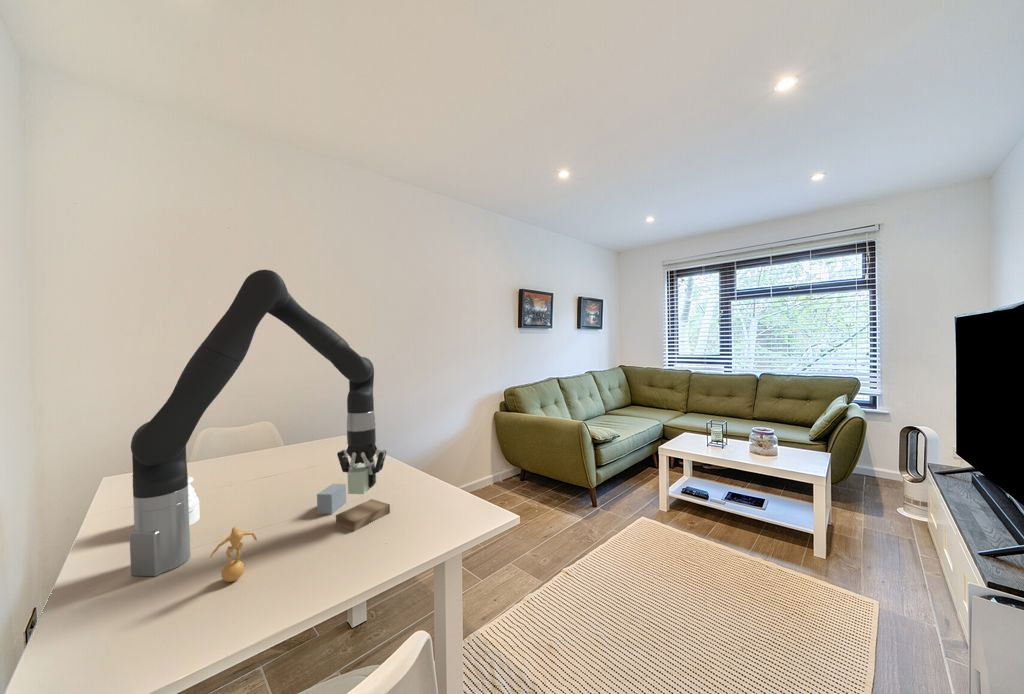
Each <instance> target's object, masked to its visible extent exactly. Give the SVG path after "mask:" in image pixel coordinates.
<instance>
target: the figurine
mask: <svg viewBox="0 0 1024 694" xmlns="http://www.w3.org/2000/svg"><path fill="white" fill-rule="evenodd" d="M243 536H252V537H253V541H256V542H257V541H258V537H257V536H256V534H255V533H254V531H242V530H240V529H239V528H238V527H237V526H234V527H232V528H231V533H230V535H229V536H227V537H226V538H225V539H224V540H222V541H221V542H220V543H219V544H218V545H217V546H216V548H214V550H213V551H212V552H211V555H210V556H209V559H210V560H211V559H212V556H213V555H214V554H215V553H216V552H218V550H219V548H220V547H221V546H223V545H225V544H226V543H228V542H230V544H231V546H228V547H226V549H227V550H226V552H225V554H226V555H227V560H228V562H227V563H226V564H225V565H224V566H223V568H222V569H221V572H220V574H221V579H222V580H223V581H224V582H226V583H227V582H228V583H231V582H234V581H237V580H238V579H240V578H241V576H242V575H244V572H245V564H244V563H243V562H242V561H241V560H240V556H241V551H240V550H241V549H242V547H243V545H244V543H243V541H242V539H243ZM234 550H236V556H237V557H236V559H234V560H233V559H232V558H233V557H232V555H231V554H232V553H233V552H234Z"/></svg>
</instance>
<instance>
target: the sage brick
mask: <svg viewBox="0 0 1024 694" xmlns="http://www.w3.org/2000/svg"><path fill="white" fill-rule="evenodd" d="M376 463H377V462H375V467H376ZM368 475H369V473H368V469H367V468H366V467H365V464H364V463H359V464H358V466H357V467H355V468H354V469H352V470H350V471H349V472H348V473H347V494H348V495H365V494H366V493H367V492H368V491H369V490H370V489H371V488H369V484H368ZM377 475H378V474H377V473H376V483H375V484H374V486H375V485H376V484H377V482H378V481H377V478H378V477H377Z"/></svg>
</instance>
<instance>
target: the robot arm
mask: <svg viewBox="0 0 1024 694" xmlns="http://www.w3.org/2000/svg"><path fill="white" fill-rule="evenodd" d="M285 283H286V282H285V281H284V279H283V278H282V277H281V276H280V275H279V273H277V272H275V271H273V270H271V269H259V270H256V271H254V272H251V273H250V274H249V275H248V276H247V277H245V279H244V281H243V283H242V285H241V286H240V288H239V290H238V292H237V294H236V295H235V297H234V299H233V301H232V303H231V305H230V306H229V307H228V309H227V310H226V312H225V313H224V315H222V317H221V318H220V320H219V321H218V322H217V323H216V324H215V326H214V327H213V328H212V330H211V331H209V333H208V335H207V337H205V339H204V341H202V342H201V344H200V345H199V346H198V347H197V349H196V350H195V352H194V353H193V355H192V356H191V358H190V359H189V360H188V362H187V364H186V366H185V367H184V368H183V370H182V372H181V374H180V376H179V378H178V380H177V382H176V383H175V386H174V388H173V390H172V392H171V394H170V396H169V397H168V398H167V400H166V402H165V403H164V404H163V406H161V408H160V409H158V412H157V413H156V414H155V415H154V416H153V418H151V419H150V420H149V421H147V422H145V423H144V424H142V425H141V426H140V427H138V428H137V430H135V432H134V433H133V435H132V438H131V441H130V442H131V443H130V450H131V456H132V457H131V458H132V461H131V462H132V496H133V497H132V498H133V499H132V500H133V527H134V530H133V531H130V532H129V554H130V555H129V556H130V558H129V559H130V561H129V562H130V575H131V576H141V577H142V576H144V577H146V576H147V577H157V576H159V575H160V574H162V573H165V572H168V571H171V570H174V569H175V568H177V567H180V566H182V565H183V564H184V563H186V562H187V561H188V560H189V559H190V557H191V538H190V535H191V533H190V526H189V502H188V476H189V474H188V465H187V463H188V462H187V444H188V443H189V440H190V438H191V437H192V434H193V433H194V431H195V429H196V427H197V425H198V424H199V421H200V420H201V418H202V417H203V415H204V413H205V412H206V411H207V409H208V407H209V406H210V405H211V404H212V403H213V402H214V400H215V399H216V398H217V397H218V395H219V394H220V393H221V392H222V391H223V389H224V387H226V385H227V384H228V382H229V381H230V380H231V378H232V377H233V376H234V374H235V373H236V372H237V370H238V369H239V367H240V366H241V364H242V363H243V361H244V359H245V357H246V356H247V353H248V351H249V349H250V347H251V344H252V342H253V337H254V335H255V333H256V330H257V328H258V326H259V324H260V322H261V321H262V320H263V319H264V317H265V316H266V314H269V315H271V316H272V317H274V318H276V319H278V320H279V321H280V322H282V323H283V324H285V325H286V326H288V328H290V329H292V330H293V331H294V332H295V333H296V334H297V335H298V336H299V337H300V338H301V339H303V340H304V341H305V342H306V343H307V344H308V345H309V346H311V347H312V348H313V349H314V350H315V351H317V352H318V354H320V355H321V356H323V357H324V358H325V359H326V360H327V361H329V362H330V363H331V364H332V365H333V366H334V368H336V369H337V370H338V371H339V373H341V375H343V376H344V378H346V379H347V380H348V388H349V391H348V394H347V398H346V405H347V406H346V409H347V411H346V412H347V413H346V415H347V417H346V440H347V441H346V443H347V448H346V449H342V450H340V451H338V452H337V454H336V455H337V458H338V461H339V465H340V467H341V471H342V473H347V474H348V472H349V471H350V470H352V469H354V468H355V467H357V466H358V465H359V464H361V463H364V464H365V467H366V468H367V469H368V473H369V475H368V484H369V488H370V489H372V488H374V486H375V485H376V484H377V483H376V474H377V473H380V471H382V470H383V468H384V463H385V459H386V456H387V451H386V450H385V449H383V450H380V449H378V447H377V446H376V441H377V439H376V438H377V437H376V425H377V424H376V415H375V406H374V401H375V400H374V399H375V398H374V381H375V380H374V379H375V368H374V363H373V362H372V361H371V360H370V359H369V358H367V357H366V356H365V357H364V356H361V355H360V354H359V353H357V352H356V351H355V350H354V349H353V348H352V347H351V346H350V344H349V343H348V342H347V340H346V339H344V338H343V337H342V336H341V335H339V334H338V332H336V331H335V330H334V329H332V328H331V327H330V326H329V325H327V324H326V323H324V322H323V321H322V320H320V319H318V318H316V317H315V316H313V315H312V314H310V312H308V311H307V310H306V309H304V308H303V307H302V306H301V305H300V304H299V303H298V302H297V301H296V299H295V298H294V297H293V296H292V295H291V294H290V293H289V290H288V288H287V286H286V284H285ZM375 455H376V456H375ZM348 456H349V457H348ZM374 457H376V458H377V459H376V461H375V458H374ZM349 458H350V461H349ZM375 463H376V467H375ZM375 483H376V484H375ZM374 484H375V485H374Z"/></svg>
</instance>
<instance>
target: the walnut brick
mask: <svg viewBox="0 0 1024 694" xmlns="http://www.w3.org/2000/svg"><path fill="white" fill-rule="evenodd" d="M390 513H391V504H390V503H387V502H383V501H380V500H377V499H376V500H375V499H372V498H371V499H368V500H366V501H364V502H362V503H360V504H358V505H355V506H353V507H351V508H348V509H347V510H344V511H342V512H340V513H338V514H336V515H335V525H337V526H339V527H342V528H345V529H347V530H350V531H353V532H356V531H358V530H361V529H362V528H364V527H366V526H368V525H370V524H372V523H374V522H376V521H377V519H378V520H379V518H380V519H382V518H383V517H386V516H388V515H389V514H390ZM375 520H376V521H375ZM373 521H374V522H373ZM371 522H372V523H371ZM369 523H370V524H369Z"/></svg>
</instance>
